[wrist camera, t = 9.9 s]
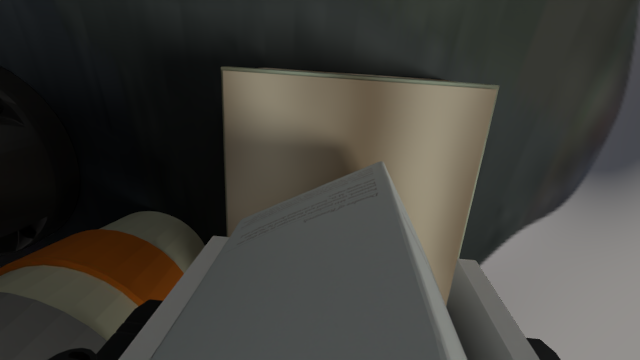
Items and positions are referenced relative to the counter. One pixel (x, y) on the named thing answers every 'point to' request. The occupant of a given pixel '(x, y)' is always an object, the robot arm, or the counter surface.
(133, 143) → the counter surface
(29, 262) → the reusable coffee cup
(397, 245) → the supplement box
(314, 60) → the counter surface
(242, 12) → the counter surface
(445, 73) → the counter surface
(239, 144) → the maple box
